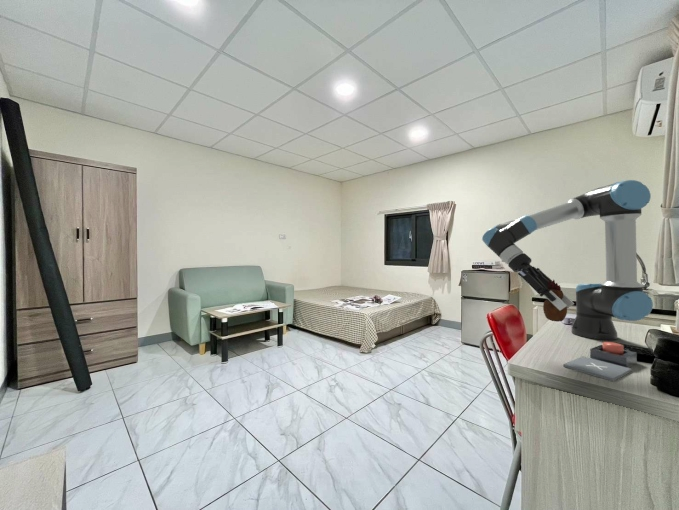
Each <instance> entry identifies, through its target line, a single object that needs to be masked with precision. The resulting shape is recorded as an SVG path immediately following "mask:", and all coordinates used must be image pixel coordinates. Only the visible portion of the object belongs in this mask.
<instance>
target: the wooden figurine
mask: <svg viewBox="0 0 679 510" xmlns="http://www.w3.org/2000/svg"><path fill="white" fill-rule="evenodd" d="M550 279H551V278H550V277H549V291H552V292H553V293H554V294H556V295H557V296H558V297H559V298H560V299H562V298H563V294H564V292H563V290H562V289H561V288H560V287H561V285H559V284H558V282H555V279H551V280H552V281H553V283H551V280H550ZM555 284H556V285H555ZM542 305H543V306H542V307H543V309H542V310H543V314H544V316H545V318H546V319H547V320H548V321H551V322H562V321H564V320H565V318H566V317H567V314H568V308H567V306H566V307H565V308H563V309H562V310H559V309H558V308H557V307H556V306H554V305H553V304H552V303H551V302H550V301H549V300H548V299H547V298H546V299H545V300H544V302H543V304H542Z"/></svg>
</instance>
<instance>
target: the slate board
mask: <svg viewBox="0 0 679 510" xmlns="http://www.w3.org/2000/svg"><path fill="white" fill-rule="evenodd" d="M562 366H563V367H564V368H567V369H570V370H574V371H577V372H580V373H583V374H587V375H591V376H594V377H597V378H600V379H604V380H607V381H611V382H615V381H616V380H619V379H620V378H622V377H624V376H625V375H627V374H629V373H631V372H632V368H631V367H628V368H627V367H623V366H619V365H615V364H611V363H607V362H604V361H600V360H596V359H592V358H590V357H587V356H584V355H583V356H580V357H576V358H575V359H573V360H569V361H567V362H565V363H563V365H562Z"/></svg>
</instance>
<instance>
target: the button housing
mask: <svg viewBox="0 0 679 510" xmlns="http://www.w3.org/2000/svg"><path fill="white" fill-rule="evenodd" d="M589 353H590V356H589V358H592V359H596V360H600V361H604V362H607V363H611V364H615V365H619V366H623V367H627V368H631V367H632V366H634V365H636V364H637V363H638V362H637V361H638V360H637V359H638V358H637V357H638V353H637V352H636V351H631V350H627V349H624V354H623V355H619V354H615V353H611V352H606V351H603V344H599V345H597V346H594V347H592V348H590V352H589Z"/></svg>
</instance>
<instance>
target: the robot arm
mask: <svg viewBox="0 0 679 510" xmlns="http://www.w3.org/2000/svg"><path fill="white" fill-rule="evenodd" d="M650 200H651V192H650V190H649V188H648V186H647V185H645V184H643V182H642V181H638V180H635V179H629V180H627V179H626V180H621V181H617V182H614V183H611V184H608V185H605V186H601V187H598V188H594V189H591V190H590V191H587V192H585V193H583V194H581V195H579V196H578V195H577V196H576V197H573V198H570V199H568V200H567V201H566V202H565V203H561V204H558V205H556V206H552V207H549V208H546V209H542V210H539V211H537V212H534V213H531V214H528V215H527V214H526V215H523V216H521V217H519V218H516V219H512V220H510V221H507V222H504V223H499V224H497V225H495V226H493V227H492V228H489V229H488V230H487V231H486V232H485V233H484V234H483V235H482V236H481V237H482V239H481V240H482V242H483V243H484V244H485V245H486V247H487V248H489V249H490V250H491V251H492V252H493V253H494V254H495V255H496V256H498V258H500V259H501V262H502V263H505V264H506V265H507V266H508V268H510V270H512V272H514V273H517V275H518V276H519V277H521V278H522V279H523V280H524V281H525V282H526V283H527V284H528V285H529V286H530V287H531V288H532V289H533V290H534V291H535V292H536V293H537V294H539V296H540V297H543V296H544V297H545V298H546V300H547V299H548V300H549V301H550V302H551V303H552V304H553V305H554V306H556V307H557V308H558V309H559V310H562V309H563V308H565V307H566V306H567V309H569V308H570V307H571V306H573V305H576V306H575V309H576V311H575V312H576V316H575V318H574V321H573V323H572V324H571V325H572V326H571V333H572V334H574V335H577V336H579V337H584V338H586V339H587V338H588V339H593V340H594V339H595V340H600V341H601V340H604V341H615V340H617V339H618V331H617V329H616V326H615V324H614V322H613V320H612V318H616V319H619V320H622V321H628V322H637V321H641V320H643V319H645V318H646V317H647V316H649V315H650V314H651V312H652V310H653V306H654V304H653V299H652V297H650V296H649V294H647V293H645V292H644V286H643V284H641V283H640V282H639V281H638V267H637V266H638V264H637V221H636V220H637V219H638V218H640V217H641V216H642V209H643V208H645V207H646V206H647V205H648V203H650ZM592 216H593V217H594V216H595V217H596V216H599V219H601V220H602V221H603V222H604V231H605V232H604V236H605V239H604V240H605V241H604V242H605V281H603V282H602V283H579V284H577V285H576V290H575V297H576V299H575V303H574V301H572V300H571V299H570V298H569V297H568V296H567V295H566V294H565V293H563V298H562V299H560V298H559V297H558V296H557V295H556V294H554V293H553V292H552V291H549V278H550V277H549V276H547V275H546V274H545V273H544V272H543V271H542V270H541V269H540V268H539V267H537V268H536V266H532V265H531V263H532V258H531V257H529V256H528V255H527V254H526V253H524V251H523V250H522V249H521V248H519V246H517V245H516V243H517V242H519V241H521V240H522V239H524V238H525V237H527V236H529V235H531V234H532V233H534V232H536V231H538V230H541V229H544V228H547V227H551V226H553V225H558V224H559V223H563V222H566V221H569V220H572V219H575V220H580V219H583V218H587V217H588V218H589V217H592ZM550 280H551V283H553V279H551V278H550ZM555 285H556V283H555ZM560 288H561V286H560Z"/></svg>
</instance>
